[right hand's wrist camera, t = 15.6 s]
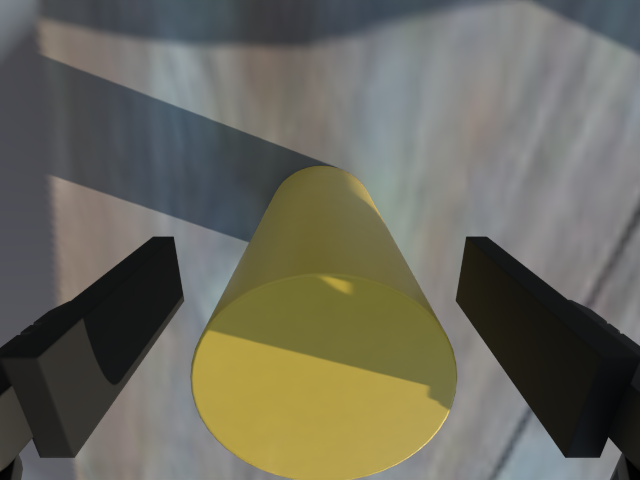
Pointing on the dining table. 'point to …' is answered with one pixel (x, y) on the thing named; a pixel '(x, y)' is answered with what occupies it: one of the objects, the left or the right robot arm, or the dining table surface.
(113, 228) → the dining table surface
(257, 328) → the can
